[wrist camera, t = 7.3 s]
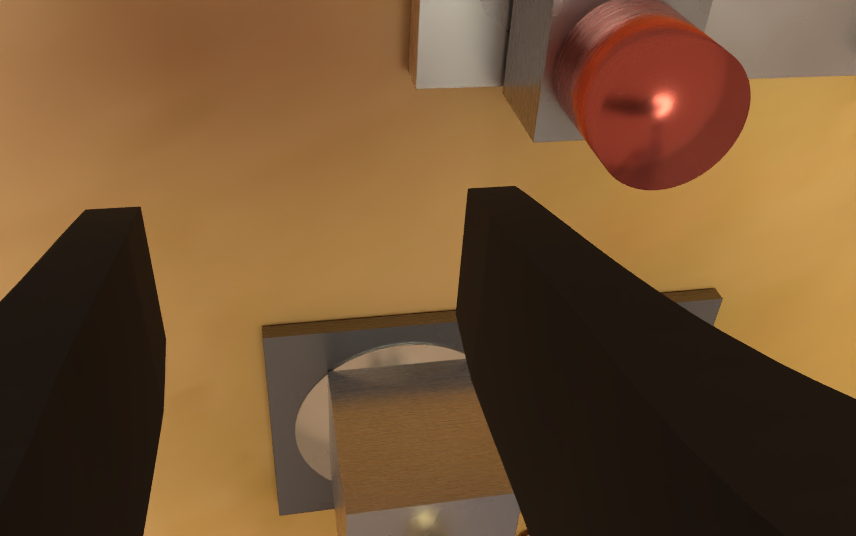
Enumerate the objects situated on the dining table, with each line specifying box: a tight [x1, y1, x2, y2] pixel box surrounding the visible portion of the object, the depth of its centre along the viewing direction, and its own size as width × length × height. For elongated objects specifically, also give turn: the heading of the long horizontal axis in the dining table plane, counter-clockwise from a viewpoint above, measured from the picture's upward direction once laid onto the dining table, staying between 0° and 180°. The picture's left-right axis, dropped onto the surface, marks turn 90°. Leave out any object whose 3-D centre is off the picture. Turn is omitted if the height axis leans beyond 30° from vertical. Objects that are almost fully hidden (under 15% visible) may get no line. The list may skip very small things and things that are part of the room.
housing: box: [328, 359, 520, 536], centre depth 23 cm, size 4×4×6 cm
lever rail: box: [408, 0, 856, 89], centre depth 18 cm, size 3×13×3 cm, turn 87°
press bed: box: [262, 289, 723, 516], centre depth 24 cm, size 8×14×4 cm, turn 87°
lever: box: [503, 0, 750, 190], centre depth 16 cm, size 3×3×5 cm
